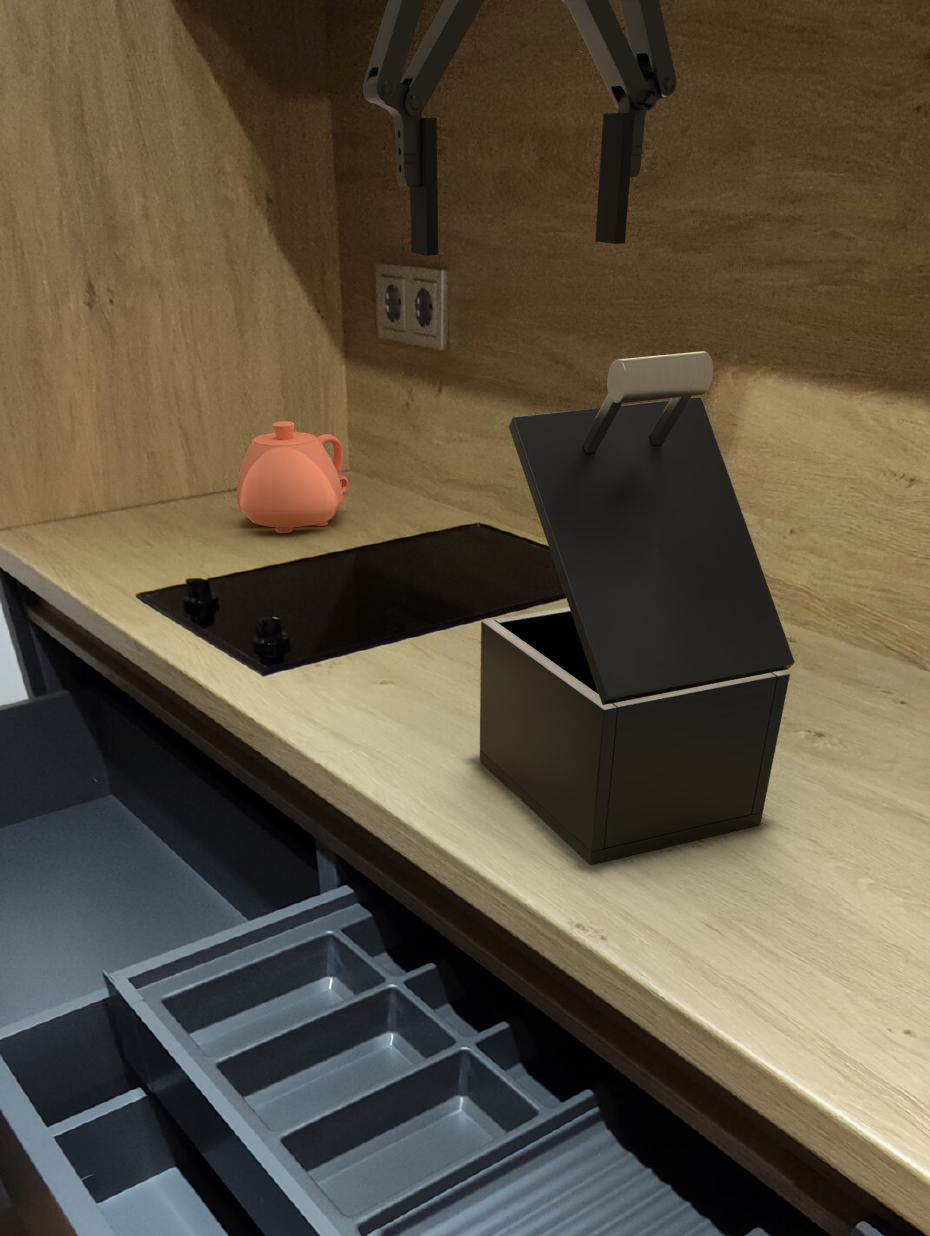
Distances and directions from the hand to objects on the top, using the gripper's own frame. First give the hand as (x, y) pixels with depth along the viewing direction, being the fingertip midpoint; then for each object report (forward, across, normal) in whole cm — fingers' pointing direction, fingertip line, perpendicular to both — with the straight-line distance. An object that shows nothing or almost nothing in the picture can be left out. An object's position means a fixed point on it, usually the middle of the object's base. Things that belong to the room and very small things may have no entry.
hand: (519, 248), depth 73 cm
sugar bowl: (+29, 0, -56) cm, 63 cm away
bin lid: (+13, +2, +23) cm, 26 cm away
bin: (+29, +2, +21) cm, 36 cm away
